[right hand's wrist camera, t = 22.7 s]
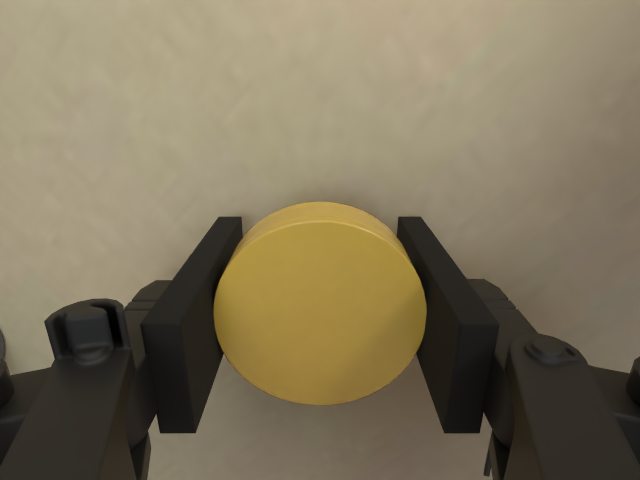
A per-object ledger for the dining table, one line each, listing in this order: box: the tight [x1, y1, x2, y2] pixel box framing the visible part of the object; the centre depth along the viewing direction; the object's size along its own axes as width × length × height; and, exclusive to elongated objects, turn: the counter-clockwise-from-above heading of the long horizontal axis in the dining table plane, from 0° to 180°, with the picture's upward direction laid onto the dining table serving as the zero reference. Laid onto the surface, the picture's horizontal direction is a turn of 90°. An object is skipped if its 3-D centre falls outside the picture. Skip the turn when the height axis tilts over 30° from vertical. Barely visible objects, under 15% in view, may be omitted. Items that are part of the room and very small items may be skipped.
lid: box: [213, 202, 427, 405], centre depth 11 cm, size 5×5×2 cm
